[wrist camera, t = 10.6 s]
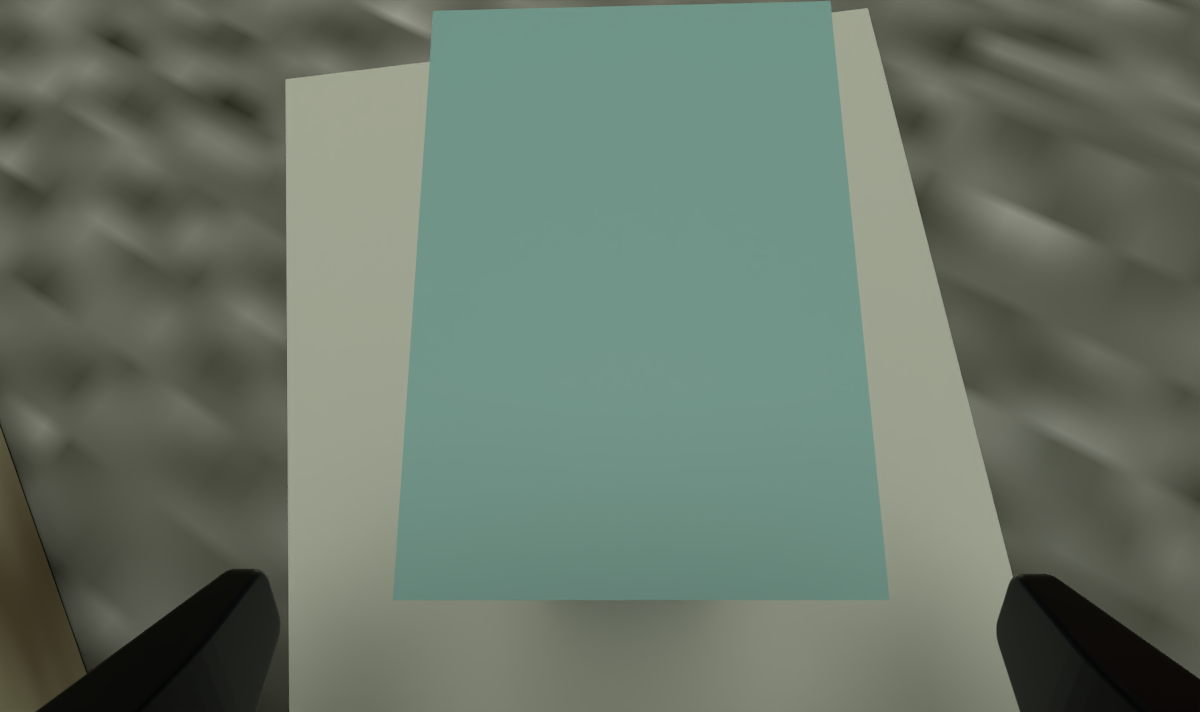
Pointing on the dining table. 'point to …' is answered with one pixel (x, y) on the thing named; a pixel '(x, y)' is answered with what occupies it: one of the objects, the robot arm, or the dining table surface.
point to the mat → (613, 627)
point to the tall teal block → (637, 314)
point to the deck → (29, 608)
